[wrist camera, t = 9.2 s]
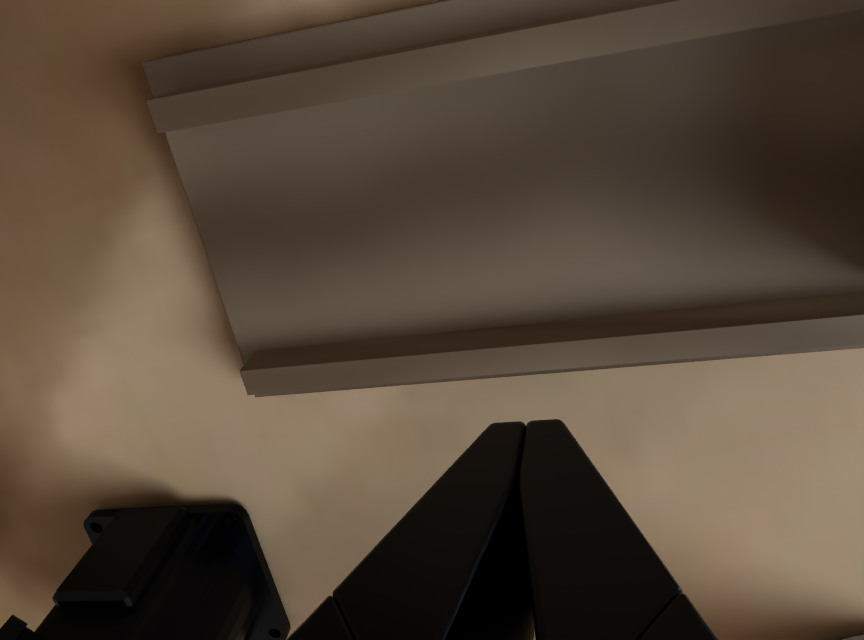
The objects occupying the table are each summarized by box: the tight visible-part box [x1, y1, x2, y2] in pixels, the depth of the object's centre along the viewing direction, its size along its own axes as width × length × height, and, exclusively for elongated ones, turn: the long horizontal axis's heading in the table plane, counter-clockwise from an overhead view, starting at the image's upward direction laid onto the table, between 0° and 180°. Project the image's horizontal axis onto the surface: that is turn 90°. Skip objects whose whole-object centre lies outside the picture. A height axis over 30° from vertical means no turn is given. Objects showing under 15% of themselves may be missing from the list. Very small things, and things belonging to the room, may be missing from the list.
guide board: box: [141, 0, 864, 397], centre depth 17 cm, size 10×25×5 cm, turn 101°
